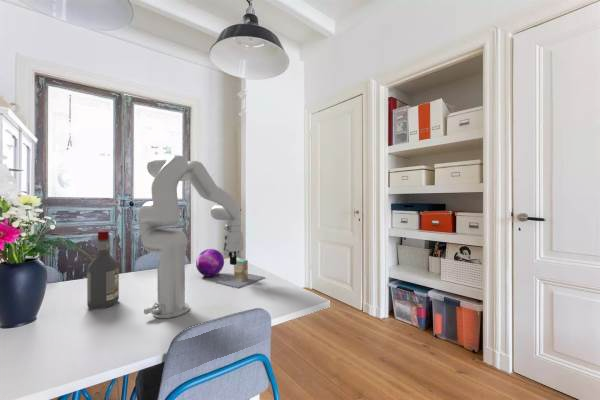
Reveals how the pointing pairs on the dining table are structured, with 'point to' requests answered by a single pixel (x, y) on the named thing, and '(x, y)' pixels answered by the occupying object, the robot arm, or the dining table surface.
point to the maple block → (241, 270)
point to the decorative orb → (210, 262)
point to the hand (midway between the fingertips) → (233, 264)
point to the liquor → (102, 276)
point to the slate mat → (238, 284)
